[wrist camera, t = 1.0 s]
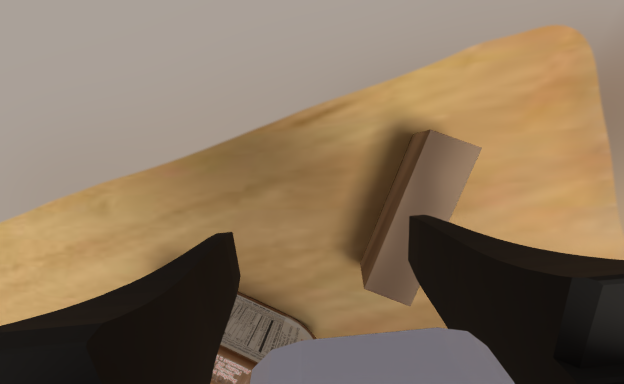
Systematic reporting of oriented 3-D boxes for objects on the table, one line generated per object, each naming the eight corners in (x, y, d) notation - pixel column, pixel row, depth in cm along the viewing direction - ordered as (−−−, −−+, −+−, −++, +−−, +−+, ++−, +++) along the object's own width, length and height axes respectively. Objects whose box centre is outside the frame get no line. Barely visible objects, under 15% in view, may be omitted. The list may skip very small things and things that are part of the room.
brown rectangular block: (453, 148, 24) (481, 147, 19) (397, 276, 26) (410, 306, 21) (412, 134, 24) (430, 129, 19) (360, 262, 26) (364, 288, 21)
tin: (175, 288, 28) (105, 346, 20) (186, 260, 28) (118, 307, 19) (317, 354, 27) (307, 442, 19) (331, 327, 27) (326, 404, 19)
